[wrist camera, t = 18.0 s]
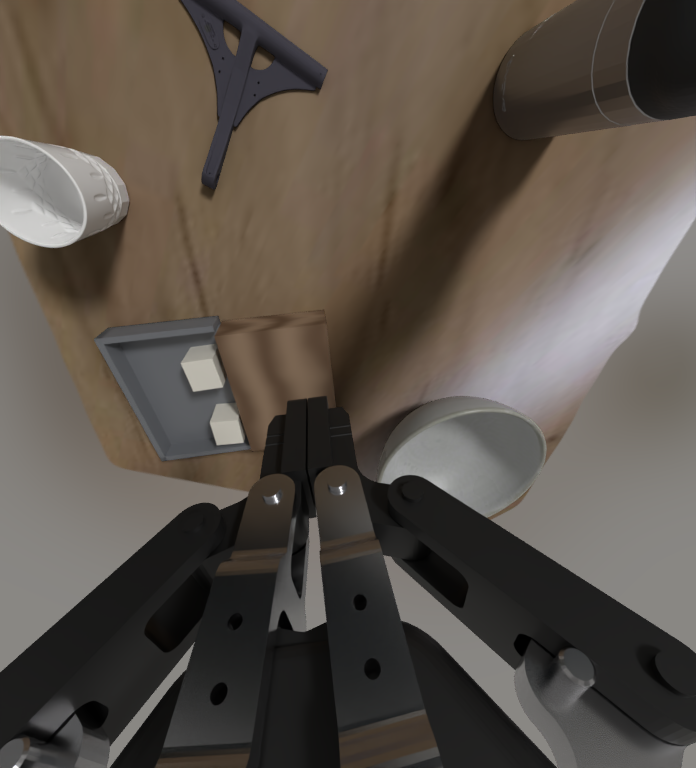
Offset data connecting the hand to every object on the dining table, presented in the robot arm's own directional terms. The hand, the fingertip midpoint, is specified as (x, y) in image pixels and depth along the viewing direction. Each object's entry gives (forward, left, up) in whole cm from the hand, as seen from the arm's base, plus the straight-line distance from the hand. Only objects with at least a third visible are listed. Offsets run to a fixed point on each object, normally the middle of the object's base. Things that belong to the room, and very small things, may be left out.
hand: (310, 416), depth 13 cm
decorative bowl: (-20, +33, -34) cm, 51 cm away
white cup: (+21, -8, -34) cm, 41 cm away
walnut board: (+5, +18, -34) cm, 38 cm away
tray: (+20, +18, -34) cm, 43 cm away
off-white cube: (+13, +24, -31) cm, 41 cm away
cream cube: (+13, +13, -31) cm, 36 cm away
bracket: (+5, -14, -34) cm, 37 cm away
